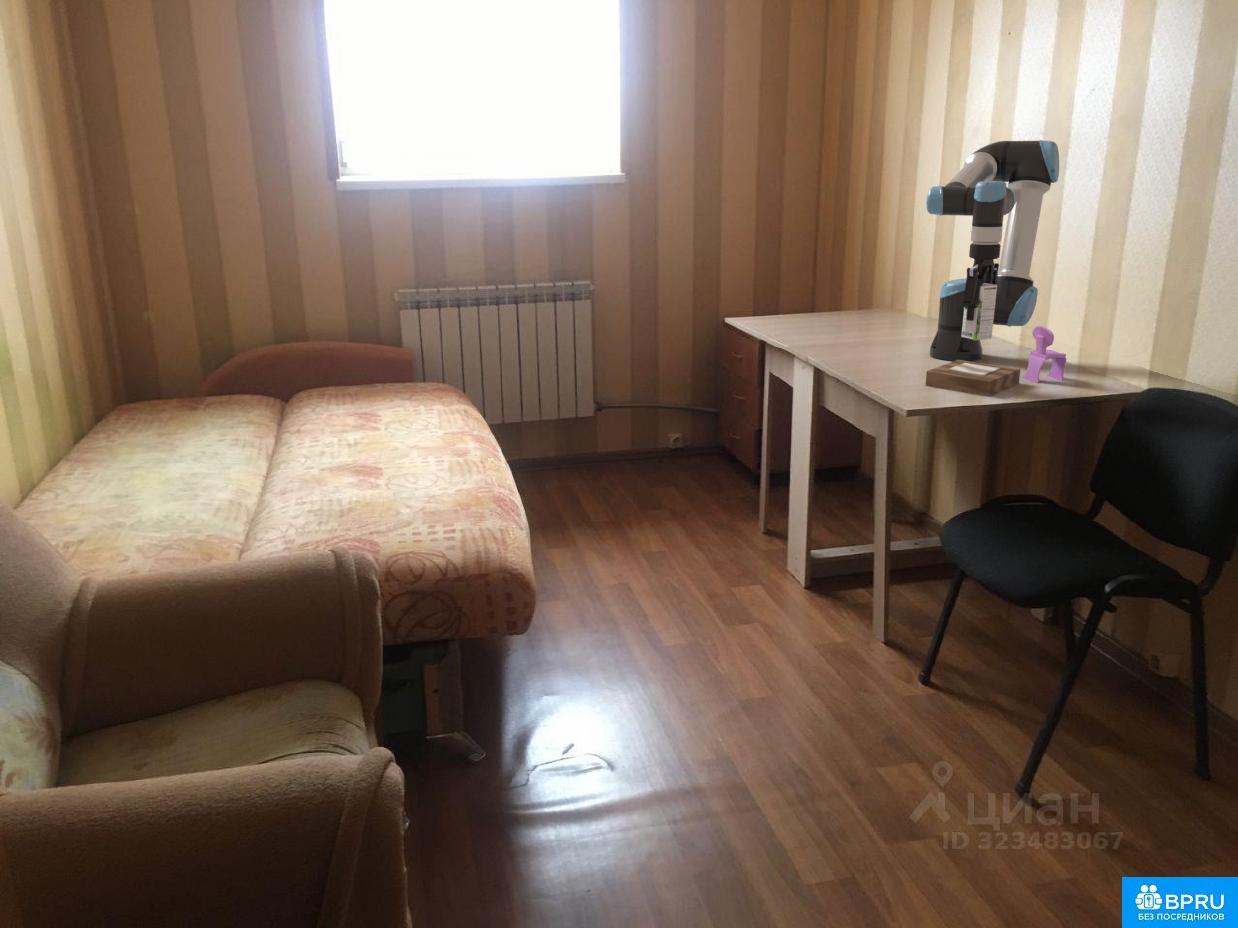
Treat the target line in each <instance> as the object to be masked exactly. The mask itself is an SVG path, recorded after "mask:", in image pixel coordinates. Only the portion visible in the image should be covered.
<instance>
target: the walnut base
mask: <svg viewBox="0 0 1238 928" xmlns="http://www.w3.org/2000/svg"><path fill="white" fill-rule="evenodd" d="M925 374H926V375H925V386H926V387H931V388H938V389H939V388H940V389H944V390H950V391H955V392H962V393H968V394H974V395H979V396H980V395H981V396H986V397H991V396H994V395H995V393H996V394H998V393H1000V392H1003V391H1004V390H1007V389H1009V388H1012V387H1014V386H1016V385H1019V384H1020V379H1021V377H1020V376H1021V368H1017V367H1010V366H1002V365H997V364H995V365H994V364H989V363H982V362H975V361H971V360H969V361H963V360H956V361H953V360H952V361H951V362H948V363H946V364H945V363H944V364H942V365H939V366H936V367H935V368H932V369H929V370H927V371H926V373H925Z"/></svg>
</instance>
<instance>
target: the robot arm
mask: <svg viewBox="0 0 1238 928" xmlns="http://www.w3.org/2000/svg"><path fill="white" fill-rule="evenodd" d="M1059 178H1060V151H1059V146H1058V145H1057V143H1056V142H1055V141H1052V140H1042V139H1039V140H1000V141H996V142H992V143H989V144H987V145H985V146H982V147H981V148H979V149H977V150H976V151H974V152H973V153H971V154H970V155H969V156H968V157H967V158H966V160H965V161H964V164H963V167H962V168H961V169H960V170H959V171H958V172H957V173H956V174H955V175H954V176H953V178H952V179H950V180H949V181H948V183H947V184H946V185H944V186H942V185H939V186H932V187H931V188H929V190H928V192H927V195H926V206H925V207H926V210H927V212H928V214H930V215H939V216H966V217H967V216H968V217H969V216H970V217H972V221H971V222H972V223H971V229H970V242H972V243H971V244H970V245H969V251H968V253H969V254H968V255H969V258H970V259H973V264H972V267H967V268H966V277H965V278H958V279H950V280H947V281H945V282H943V284H942V285H941V288H940V295H939V307H938V308H939V309H938V319H937V320H938V321H937V323H938V324H937V331H936V333H935V335H934V337H933V340H932V342H931V345H930V347H929V356H930V357H931V358H934V359H938V360H939V359H940V360H944V361H952V362H953V361H956V360H963V361H976V360H980V359H981V358H982V357H983V356H982V355H983V347H982V344H981V343H982V342H981V340H972V339H969V338H965V337H962V336H961V335H962V326H963V316H964V307H966V308H967V313H966V324H965V332H969V333H976V325H977V315H978V308H976V307H977V303H978V299H979V291H980V286H981V285H982V284H983V283H988V284H993V285H997V292H996V301H995V310H994V320H993V326H995V325H998V326H1005V327H1006V326H1008V327H1009V328H1010V327H1023V326H1026V325H1028V323H1029V322H1030V320H1031V319H1032V316H1033V315H1034V312H1035V311H1034V310H1036V309H1035V308H1036V305H1037V300H1038V295H1039V292H1038V288H1037V287H1036V286H1034V281H1035V280H1033V278H1032V277H1031V276H1030V271H1031V267H1032V261H1033V255H1034V251H1035V250H1034V249H1035V246H1036V245H1035V244H1036V237H1037V235H1038V233H1037V232H1038V227H1039V221H1040V217H1041V211H1042V204H1043V198H1044V195H1045V194H1046V193H1048V192H1049V191H1050V189H1051V187H1052V186H1051V185H1052V184H1054V183H1057V182H1058V181H1059ZM1006 182H1007V183H1008V184H1007V183H1006ZM1006 215H1008V216H1007V219H1006V220H1007V221H1006V227H1005V232H1004V238H1003V242H1002V237H1003V224H1004V223H1003V222H1004V216H1006ZM1001 242H1002V243H1003V244H1002V247H1001ZM1001 248H1002V249H1001ZM999 258H1000V261H999V263H998V262H997V263H996V262H994V260H998V259H999Z"/></svg>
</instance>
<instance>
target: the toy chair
mask: <svg viewBox="0 0 1238 928" xmlns="http://www.w3.org/2000/svg"><path fill="white" fill-rule="evenodd" d="M1032 337H1033V339H1034V340H1035V350H1031V351H1030V355H1028V366H1027V369H1026V372H1025V373H1024V375H1023V377H1022V379H1024V380H1027V381H1031V382H1033V383H1037V384H1039V383H1040V372H1041V369H1042V367H1043V365H1044V364H1045V362H1046V361H1047V360H1051V368H1050V369H1049V371H1048V373H1047V375H1046V376H1047V377H1050V378H1052V379H1057V380H1059V381H1064V373H1065V372H1064V371H1065V366H1066V363H1067V358H1066V357H1067V353H1063V352H1058V351H1056V350H1052V349H1047V348H1048V347H1050V346H1052V345H1053V343H1054V340H1055V335H1054V333H1053V332H1052V331H1051V329H1049V328H1047V327H1045V326H1044V325H1036V326H1034V328H1033V329H1032Z"/></svg>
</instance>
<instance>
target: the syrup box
mask: <svg viewBox="0 0 1238 928" xmlns="http://www.w3.org/2000/svg"><path fill="white" fill-rule="evenodd" d="M996 292H997V285H993V284H988V283H983V284H982V285H981V286H980V291H979V299H978V303H977V307H976V308H978V315H977V325H976V333H969V332H965V324H966V313H967V308H966V307H964V316H963V326H962V335H961V336H962V337H965V338H969V339H972V340H980V341H981V340H988V339H992V337H993V326H994V325H993V320H994V310H995V301H996Z"/></svg>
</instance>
